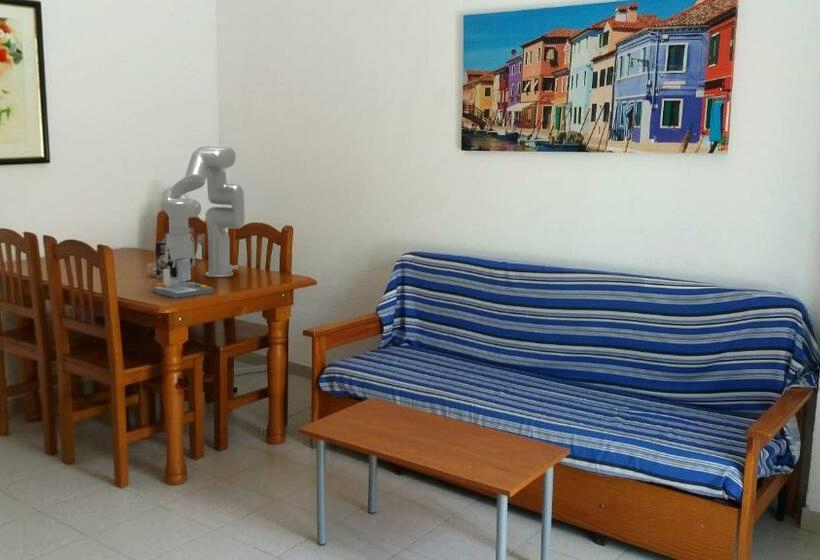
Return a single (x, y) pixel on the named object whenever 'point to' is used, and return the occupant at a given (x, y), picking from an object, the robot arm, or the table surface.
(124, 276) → the table surface
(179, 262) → the medicine box
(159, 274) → the coffee box
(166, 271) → the toggle
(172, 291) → the panel
